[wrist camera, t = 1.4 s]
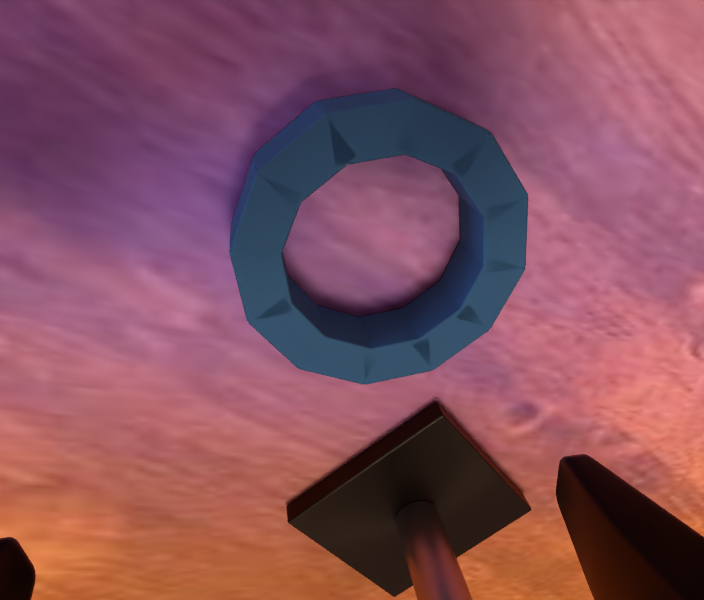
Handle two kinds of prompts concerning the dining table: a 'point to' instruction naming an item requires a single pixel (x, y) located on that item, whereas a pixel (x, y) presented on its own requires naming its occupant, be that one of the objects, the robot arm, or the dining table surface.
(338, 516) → the peg stand
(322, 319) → the blue ring
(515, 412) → the dining table surface
